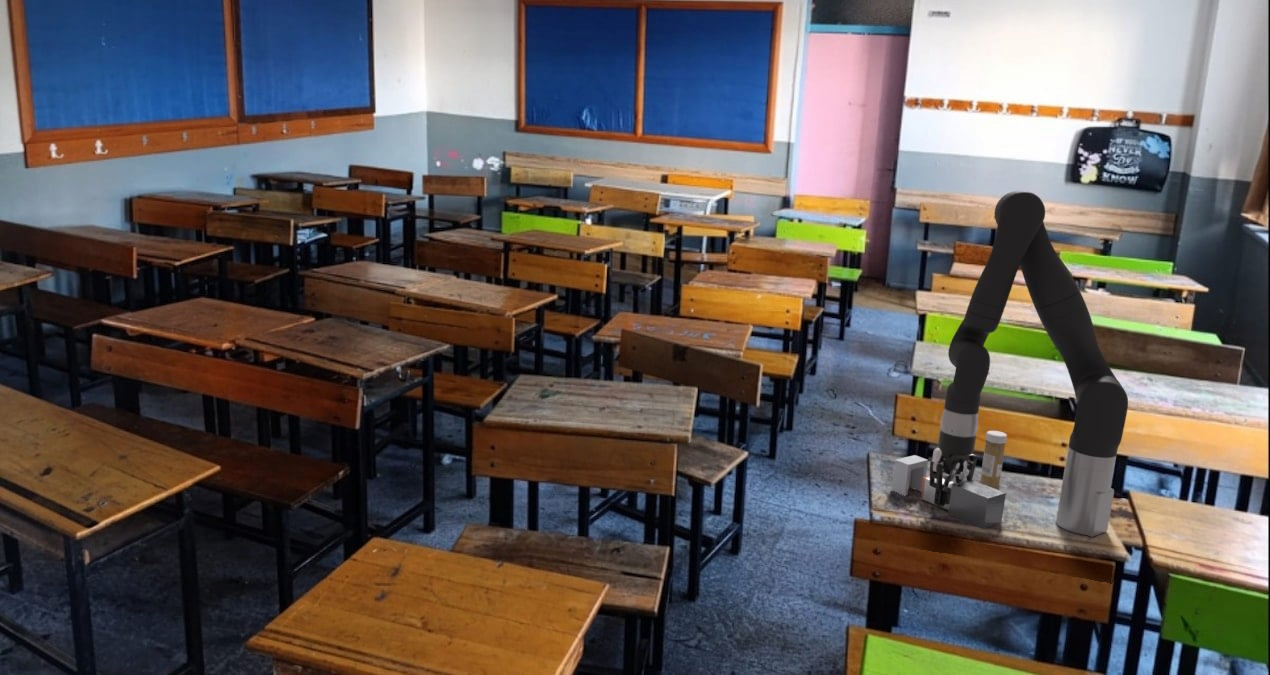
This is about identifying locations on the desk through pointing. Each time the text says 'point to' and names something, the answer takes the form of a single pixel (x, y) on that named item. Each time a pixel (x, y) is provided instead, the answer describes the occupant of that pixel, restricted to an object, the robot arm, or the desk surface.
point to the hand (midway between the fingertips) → (948, 502)
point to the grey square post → (929, 492)
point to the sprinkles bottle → (993, 459)
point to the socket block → (909, 474)
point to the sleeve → (977, 503)
